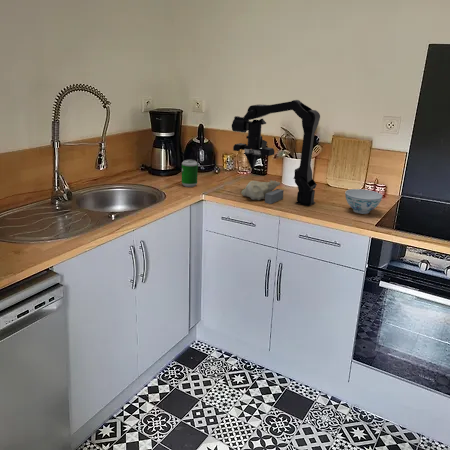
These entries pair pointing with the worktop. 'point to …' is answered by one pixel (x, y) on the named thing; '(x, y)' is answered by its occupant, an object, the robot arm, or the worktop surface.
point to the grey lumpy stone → (259, 189)
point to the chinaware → (362, 200)
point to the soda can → (189, 173)
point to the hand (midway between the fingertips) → (252, 168)
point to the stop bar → (274, 196)
